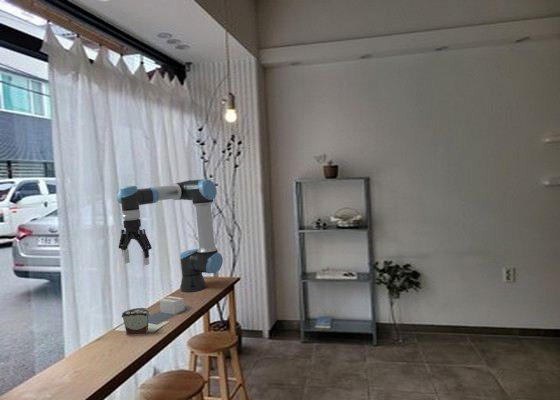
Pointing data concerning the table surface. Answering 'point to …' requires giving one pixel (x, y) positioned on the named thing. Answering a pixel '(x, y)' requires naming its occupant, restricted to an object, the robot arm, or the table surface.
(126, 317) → the food container
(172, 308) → the white rectangular block
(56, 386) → the table surface
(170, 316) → the mat
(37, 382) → the table surface
